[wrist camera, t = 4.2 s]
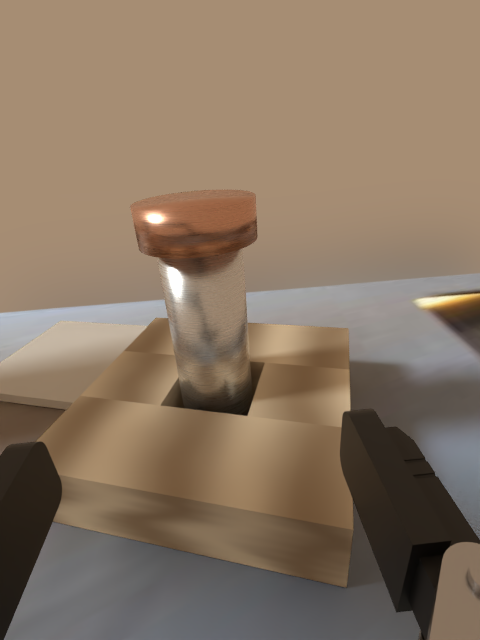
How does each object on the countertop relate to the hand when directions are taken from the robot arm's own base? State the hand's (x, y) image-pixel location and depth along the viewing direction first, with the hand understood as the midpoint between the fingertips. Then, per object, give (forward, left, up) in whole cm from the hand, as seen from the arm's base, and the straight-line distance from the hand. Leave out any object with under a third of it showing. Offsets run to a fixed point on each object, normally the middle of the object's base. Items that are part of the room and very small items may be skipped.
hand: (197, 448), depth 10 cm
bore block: (-3, +11, -10) cm, 15 cm away
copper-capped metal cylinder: (-3, +11, -10) cm, 15 cm away
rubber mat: (-19, +17, -10) cm, 27 cm away
